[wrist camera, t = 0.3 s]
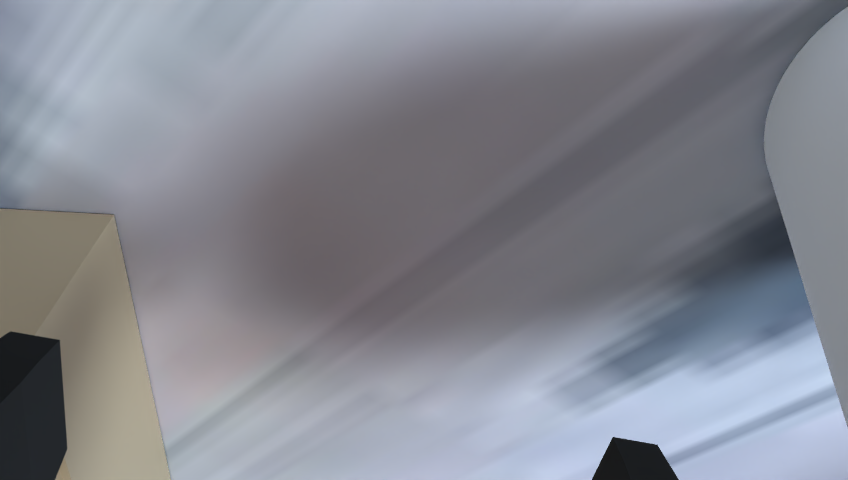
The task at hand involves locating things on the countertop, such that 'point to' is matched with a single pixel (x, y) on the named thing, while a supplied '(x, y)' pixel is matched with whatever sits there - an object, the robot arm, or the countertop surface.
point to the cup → (816, 181)
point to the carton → (84, 338)
